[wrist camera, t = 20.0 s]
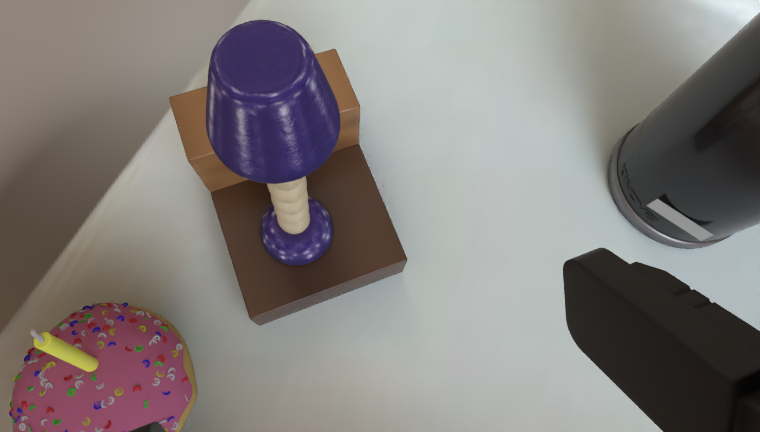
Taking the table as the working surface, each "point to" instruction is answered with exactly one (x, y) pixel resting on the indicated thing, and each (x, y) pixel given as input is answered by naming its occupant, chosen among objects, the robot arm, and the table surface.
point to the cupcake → (105, 374)
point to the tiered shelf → (326, 185)
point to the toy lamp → (275, 129)
